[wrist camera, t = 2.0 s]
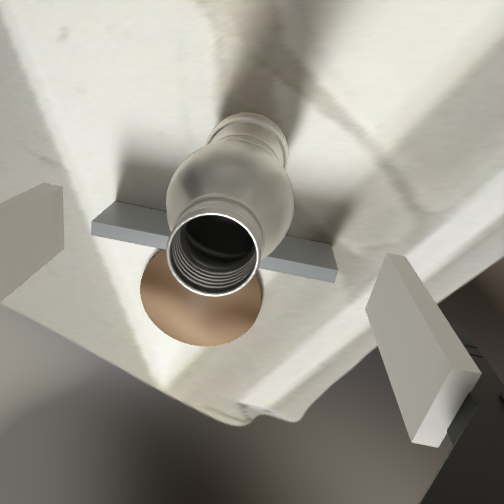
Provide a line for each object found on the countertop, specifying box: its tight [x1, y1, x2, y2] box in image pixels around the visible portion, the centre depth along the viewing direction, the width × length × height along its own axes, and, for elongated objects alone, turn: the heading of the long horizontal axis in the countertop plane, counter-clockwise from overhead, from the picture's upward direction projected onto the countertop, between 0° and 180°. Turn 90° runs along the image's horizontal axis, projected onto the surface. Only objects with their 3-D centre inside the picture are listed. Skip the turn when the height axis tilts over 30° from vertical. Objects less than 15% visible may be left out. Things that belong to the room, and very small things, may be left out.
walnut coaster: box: [140, 249, 261, 346], centre depth 39 cm, size 12×12×1 cm
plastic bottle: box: [166, 112, 295, 297], centre depth 24 cm, size 6×7×20 cm
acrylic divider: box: [91, 201, 338, 283], centre depth 34 cm, size 1×20×5 cm, turn 80°
